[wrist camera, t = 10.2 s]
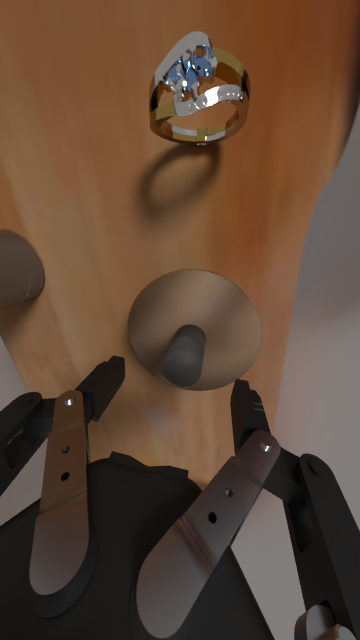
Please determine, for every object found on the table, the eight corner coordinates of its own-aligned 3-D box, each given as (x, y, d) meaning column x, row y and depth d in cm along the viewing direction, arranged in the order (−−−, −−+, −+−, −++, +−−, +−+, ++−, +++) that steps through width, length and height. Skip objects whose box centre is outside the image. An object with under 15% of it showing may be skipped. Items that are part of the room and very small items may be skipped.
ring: (164, 162, 18) (128, 110, 11) (165, 118, 17) (124, 25, 10) (238, 162, 17) (253, 104, 10) (245, 115, 16) (267, 7, 9)
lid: (112, 340, 21) (77, 373, 16) (174, 237, 16) (153, 235, 11) (203, 403, 22) (198, 453, 17) (291, 327, 17) (324, 366, 12)
